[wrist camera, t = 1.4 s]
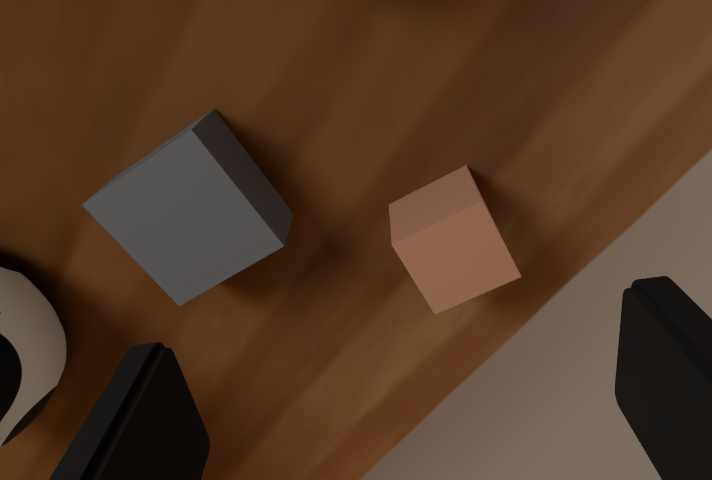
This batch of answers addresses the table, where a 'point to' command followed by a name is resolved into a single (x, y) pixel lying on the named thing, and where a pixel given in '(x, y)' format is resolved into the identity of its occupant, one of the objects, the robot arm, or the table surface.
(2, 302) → the milk container
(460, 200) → the terracotta cube
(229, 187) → the charcoal block
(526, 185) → the table surface
